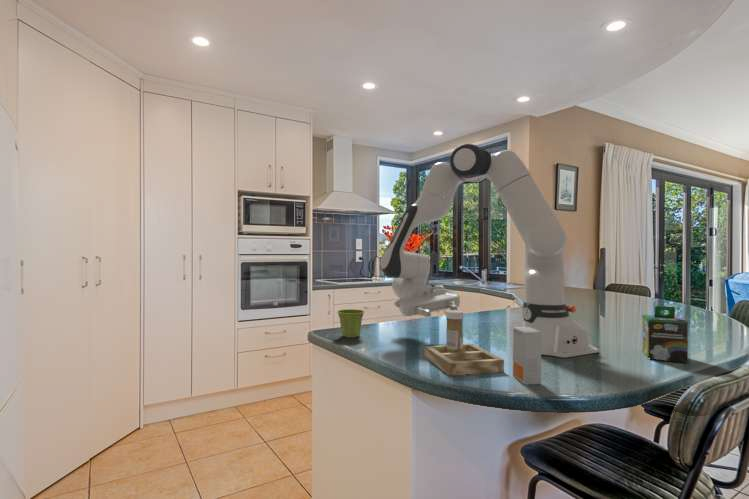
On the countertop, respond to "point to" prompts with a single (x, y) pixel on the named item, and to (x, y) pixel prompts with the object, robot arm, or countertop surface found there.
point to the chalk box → (665, 336)
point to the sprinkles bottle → (454, 331)
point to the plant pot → (350, 322)
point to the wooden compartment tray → (464, 360)
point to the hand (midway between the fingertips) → (442, 311)
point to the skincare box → (527, 355)
